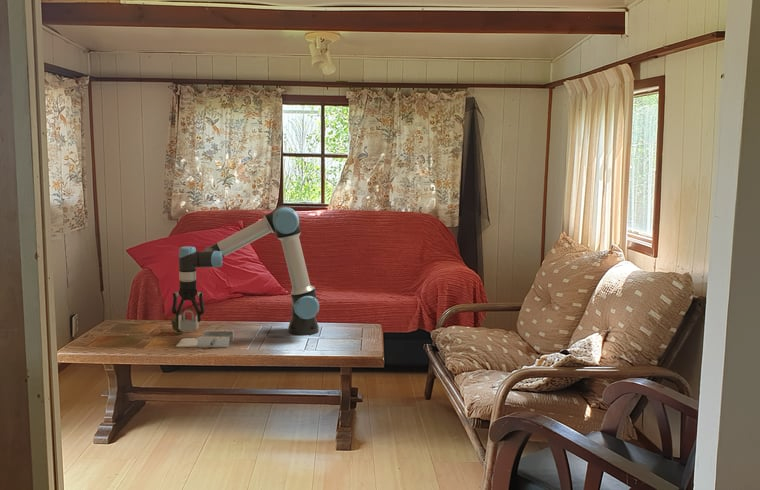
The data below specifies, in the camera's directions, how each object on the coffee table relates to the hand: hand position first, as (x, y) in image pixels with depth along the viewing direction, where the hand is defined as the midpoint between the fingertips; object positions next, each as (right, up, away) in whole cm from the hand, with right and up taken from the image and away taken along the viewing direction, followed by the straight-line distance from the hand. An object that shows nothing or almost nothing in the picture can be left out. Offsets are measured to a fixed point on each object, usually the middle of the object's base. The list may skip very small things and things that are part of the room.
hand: (188, 328), depth 320 cm
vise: (+13, -7, 0) cm, 14 cm away
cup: (-9, -5, +17) cm, 19 cm away
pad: (0, -7, +1) cm, 7 cm away
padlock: (0, -1, 0) cm, 1 cm away
